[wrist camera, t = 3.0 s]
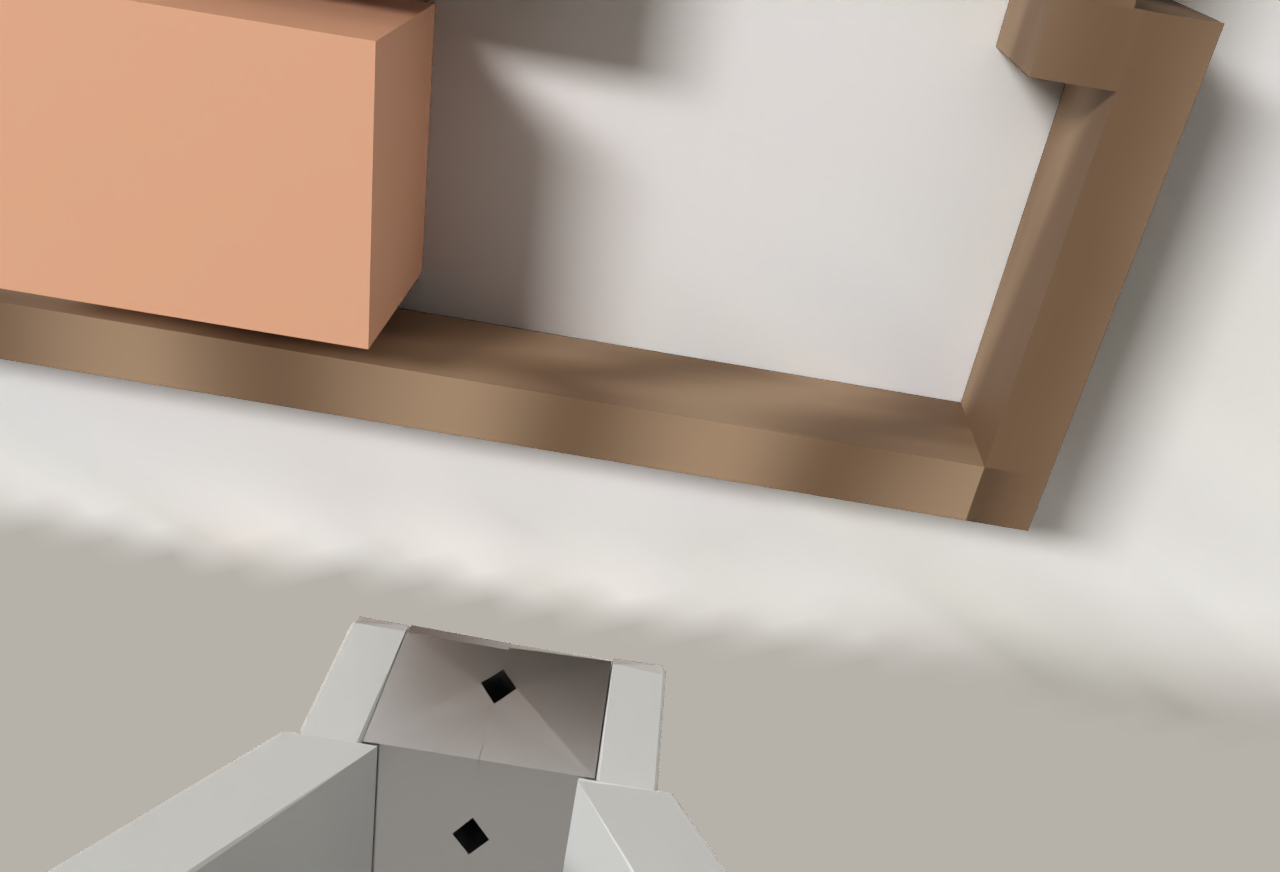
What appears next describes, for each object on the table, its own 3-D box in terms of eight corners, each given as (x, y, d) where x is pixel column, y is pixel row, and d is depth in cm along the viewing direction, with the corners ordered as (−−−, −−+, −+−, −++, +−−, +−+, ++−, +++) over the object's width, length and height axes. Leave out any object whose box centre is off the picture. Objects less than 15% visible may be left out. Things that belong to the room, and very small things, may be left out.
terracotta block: (437, 2, 23) (375, 41, 19) (424, 269, 26) (367, 349, 22) (60, -61, 23) (-77, -34, 19) (90, 213, 26) (-25, 284, 22)
